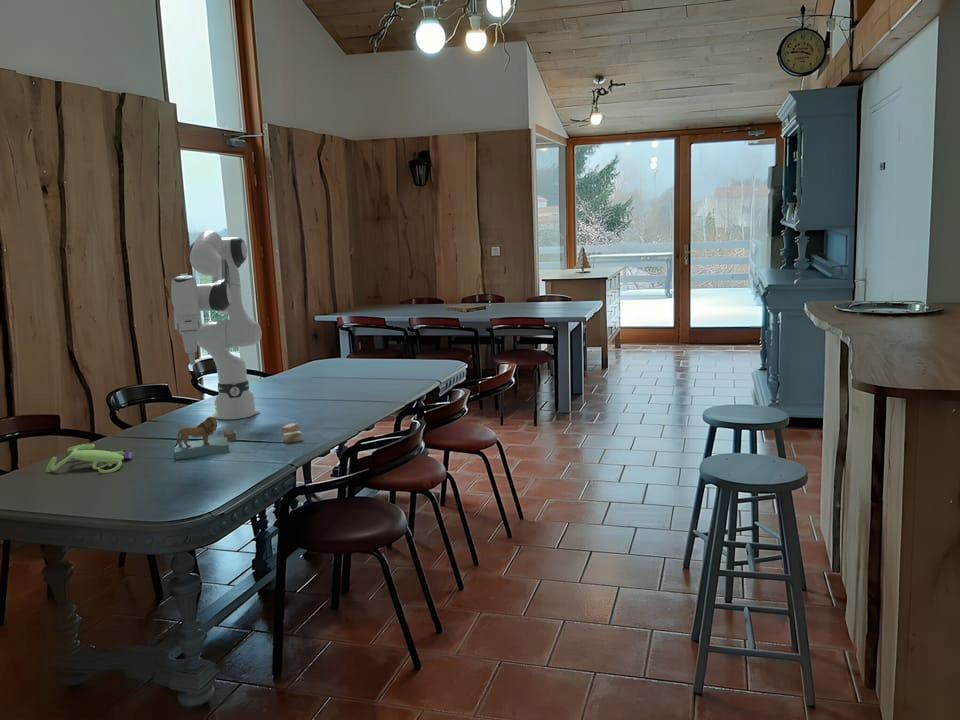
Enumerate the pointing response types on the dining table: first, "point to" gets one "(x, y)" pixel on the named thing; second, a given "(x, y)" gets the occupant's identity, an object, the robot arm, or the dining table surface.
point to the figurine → (93, 458)
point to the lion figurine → (197, 431)
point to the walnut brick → (230, 435)
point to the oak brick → (292, 436)
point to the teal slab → (202, 448)
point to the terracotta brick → (290, 428)
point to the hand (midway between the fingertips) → (192, 362)
